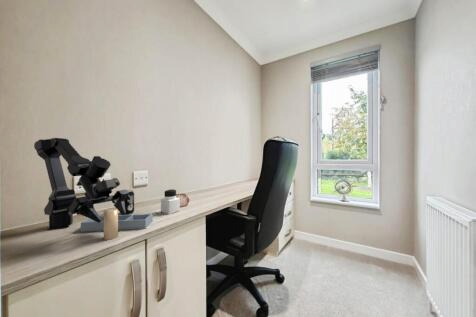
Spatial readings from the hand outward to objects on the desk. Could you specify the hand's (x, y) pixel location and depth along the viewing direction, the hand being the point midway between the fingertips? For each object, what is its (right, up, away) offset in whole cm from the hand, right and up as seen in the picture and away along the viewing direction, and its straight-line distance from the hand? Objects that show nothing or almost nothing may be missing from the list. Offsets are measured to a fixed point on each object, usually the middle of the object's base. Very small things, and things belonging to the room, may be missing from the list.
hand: (113, 217), depth 68 cm
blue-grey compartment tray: (-5, -7, +12) cm, 15 cm away
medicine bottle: (+9, -8, +34) cm, 36 cm away
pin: (-1, -7, 0) cm, 7 cm away
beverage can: (-14, -8, +32) cm, 35 cm away
